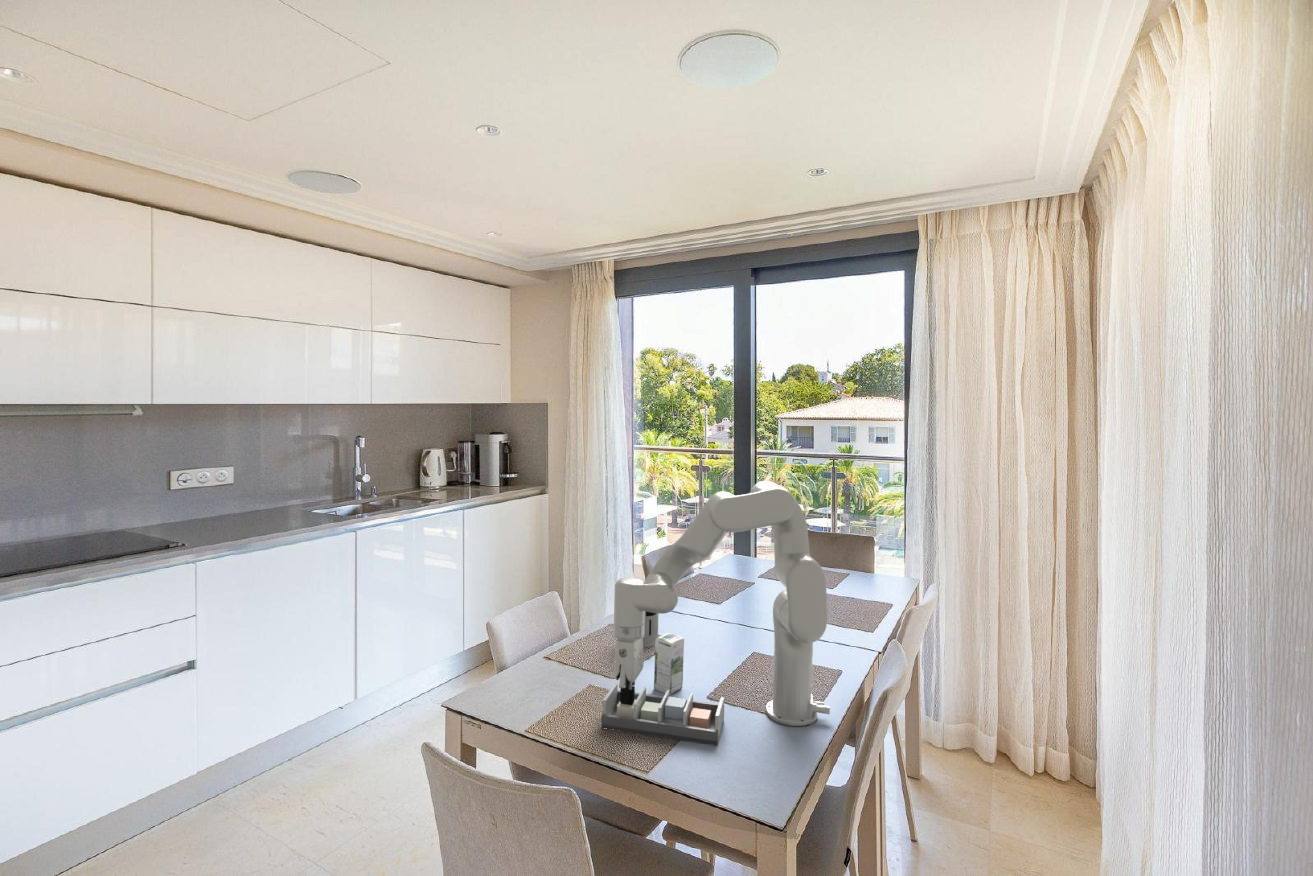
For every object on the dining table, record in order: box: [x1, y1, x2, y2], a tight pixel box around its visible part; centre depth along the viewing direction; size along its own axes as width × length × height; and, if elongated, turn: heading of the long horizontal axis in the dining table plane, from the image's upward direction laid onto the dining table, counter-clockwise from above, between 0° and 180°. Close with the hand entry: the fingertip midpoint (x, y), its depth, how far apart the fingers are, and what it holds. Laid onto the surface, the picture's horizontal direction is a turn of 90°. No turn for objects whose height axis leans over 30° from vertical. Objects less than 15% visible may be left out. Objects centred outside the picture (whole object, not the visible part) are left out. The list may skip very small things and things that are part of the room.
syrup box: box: [653, 632, 685, 696], centre depth 170 cm, size 6×6×14 cm
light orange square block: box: [690, 708, 711, 729], centre depth 149 cm, size 4×4×3 cm
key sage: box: [641, 701, 660, 722], centre depth 151 cm, size 4×4×3 cm
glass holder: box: [643, 611, 659, 648], centre depth 200 cm, size 9×14×15 cm, turn 174°
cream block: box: [617, 699, 636, 718], centre depth 153 cm, size 4×4×3 cm
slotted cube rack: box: [600, 682, 725, 747], centre depth 151 cm, size 28×11×7 cm, turn 76°
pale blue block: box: [665, 696, 688, 720], centre depth 150 cm, size 4×4×3 cm
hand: (627, 702), depth 153 cm, fingers closed
